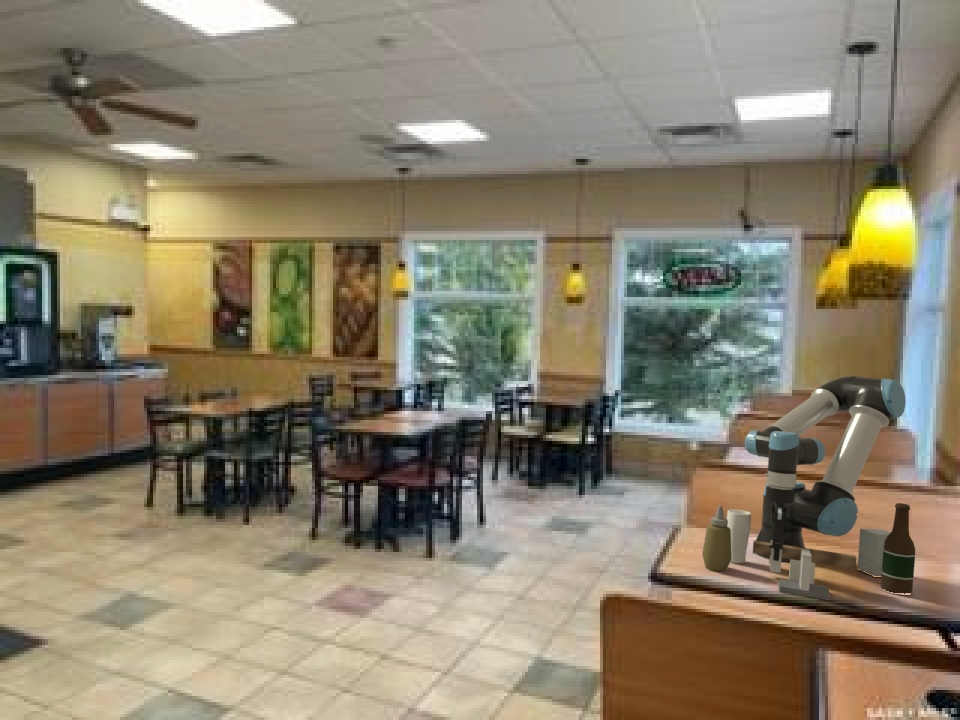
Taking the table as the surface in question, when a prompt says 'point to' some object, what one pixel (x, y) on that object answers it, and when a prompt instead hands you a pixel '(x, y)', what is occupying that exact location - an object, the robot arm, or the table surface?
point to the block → (795, 571)
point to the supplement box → (871, 550)
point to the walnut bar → (817, 555)
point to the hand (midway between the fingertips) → (774, 567)
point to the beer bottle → (898, 554)
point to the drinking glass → (739, 533)
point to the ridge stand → (804, 581)
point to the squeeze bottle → (717, 543)
